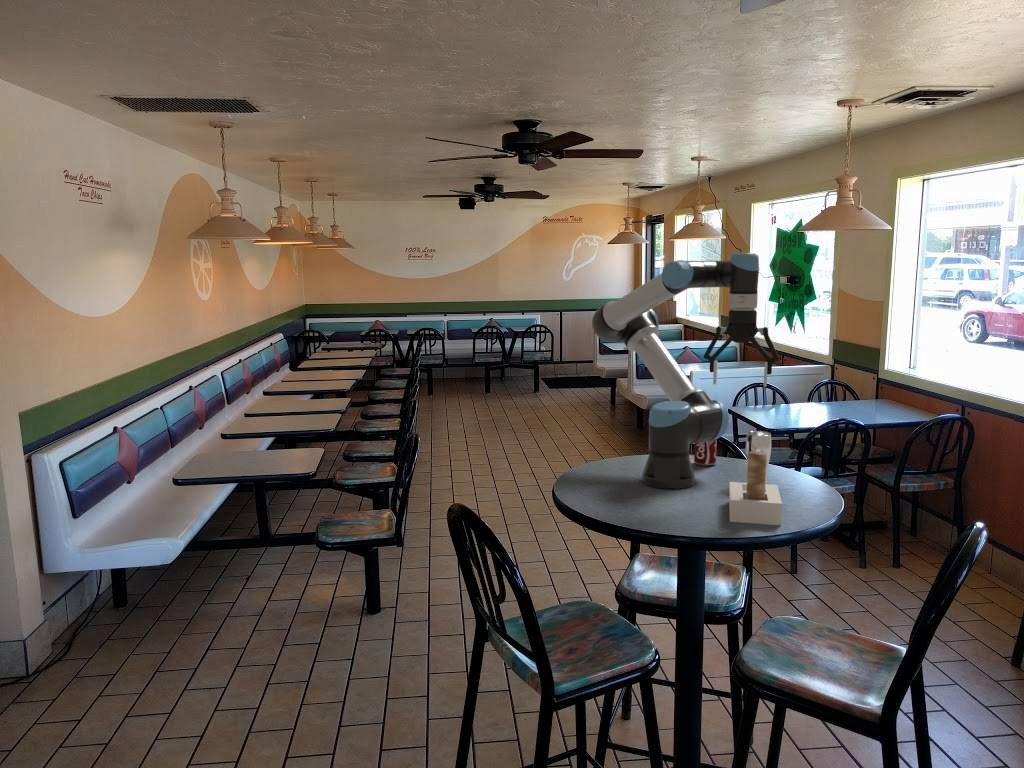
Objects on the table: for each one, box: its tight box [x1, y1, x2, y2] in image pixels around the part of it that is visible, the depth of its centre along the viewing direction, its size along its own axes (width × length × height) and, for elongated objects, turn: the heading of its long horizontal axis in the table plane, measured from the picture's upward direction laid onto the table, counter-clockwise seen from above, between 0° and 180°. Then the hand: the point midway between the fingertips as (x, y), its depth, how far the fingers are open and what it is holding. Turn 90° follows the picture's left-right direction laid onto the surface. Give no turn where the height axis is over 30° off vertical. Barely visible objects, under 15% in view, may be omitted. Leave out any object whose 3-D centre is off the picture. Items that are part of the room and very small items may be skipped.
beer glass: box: [745, 430, 772, 484], centre depth 218 cm, size 7×7×15 cm
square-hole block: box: [728, 481, 783, 526], centre depth 192 cm, size 12×17×6 cm
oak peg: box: [746, 451, 767, 501], centre depth 188 cm, size 4×4×15 cm
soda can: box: [693, 438, 718, 467], centre depth 241 cm, size 7×7×12 cm
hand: (739, 384), depth 213 cm, fingers open, 13 cm apart
